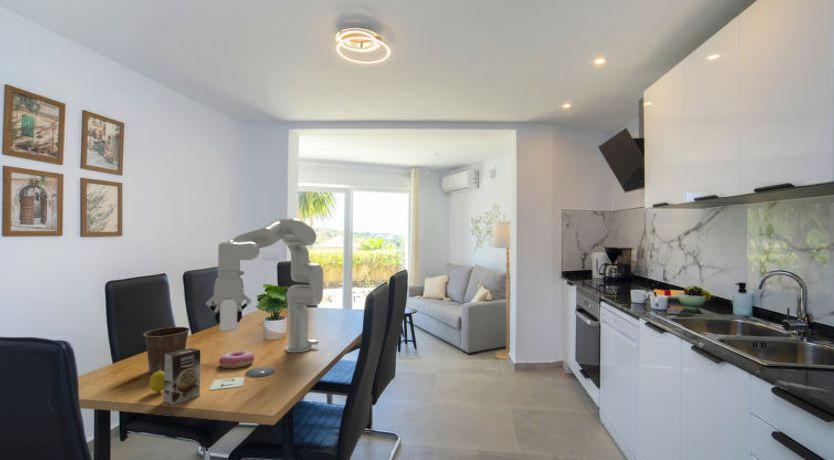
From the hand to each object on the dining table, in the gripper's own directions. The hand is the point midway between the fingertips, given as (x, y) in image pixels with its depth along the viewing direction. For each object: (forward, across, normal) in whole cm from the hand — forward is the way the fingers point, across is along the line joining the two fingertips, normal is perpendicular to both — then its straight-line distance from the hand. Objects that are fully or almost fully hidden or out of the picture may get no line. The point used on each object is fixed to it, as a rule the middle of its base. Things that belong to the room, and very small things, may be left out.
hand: (228, 321), depth 148 cm
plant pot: (+24, +26, -24) cm, 43 cm away
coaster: (+23, -11, -9) cm, 27 cm away
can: (+3, 0, 0) cm, 3 cm away
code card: (+23, 0, 0) cm, 23 cm away
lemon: (+24, +22, +2) cm, 32 cm away
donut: (+24, -1, -22) cm, 33 cm away
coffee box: (+24, +13, +10) cm, 29 cm away
